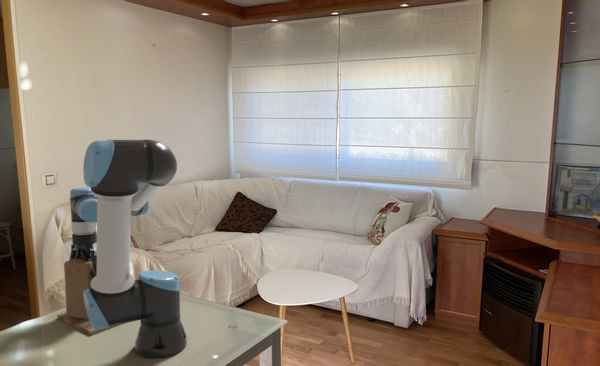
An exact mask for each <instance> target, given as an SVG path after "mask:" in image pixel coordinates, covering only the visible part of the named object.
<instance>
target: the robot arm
mask: <svg viewBox="0 0 600 366" xmlns="http://www.w3.org/2000/svg"><path fill="white" fill-rule="evenodd" d="M84 154H85V155H84V158H83V168H82V169H83V181H84V184H85V185H86V187H73V188H72V189H70V191H69V202H70V215H71V216H70V217H71V221H70V222H71V223H70V224H71V233H72V235H71V240H72V241H71V242H72V244H71V245H70V247H71V248H70V249H71V250H70V255H69V260H72V259H74V258H76V259H77V258H81V259H84V260H85V262H91V261H92V263H93V268H92V276H93V278H92V279H91V288H87V289H86V290H84V293H83V296H84V302H85V307H86V311H87V315H88V318H89V321H90V323H91V325H92V327H93V328H95V329H103V328H110V329H112V328H114V327H113V326H115V327H117V325H118V326H120V325H125V324H129V323H131V322H132V323H133V322H137V321H140V325H139V330H138V332H137V337H136V340H135V343H134V345H135V353H136V354H138V355H139V356H141V357H143V358H149V359H156V358H157V359H159V358H165V357H166V358H167V357H171V356H173V355H176V354H178V353H180V352H182V351H183V350H184V349H185V348H186V346H187V343H188V342H187V341H188V340H187V339H188V337H187V334H186V331H185V328H184V325H183V324H182V321H181V320H182V319H181V287H180V279H179V276H178V275H177V274H175V273H173V272H171V271H166V270H159V269H157V270H156V269H155V270H153V269H152V270H146V271H143V272H142V271H141V272H140V273H139V274H138V275H139V276H138V277H137V278H138V279H135V277H134V276H133V275H132V274H131V272H130V269H131V267H130V266H131V237H132V217H139V216H143V215H146V214H147V213H148V212H149V208H150V207H149V206H150V205H149V204H150V203H149V201H150V199H151V198H152V197H153V196H154V195H155V194H156V193H157V192H158V191H159V189H160V188H161V187H164V186H166V185H168V184H169V183H170V182H171V181H172V180H173V179H174V177H175V176H176V173H177V170H178V163H177V160H176V156H175V155H174V153H173V151H172V150H171V148H169V147H168V146H167V145H165V144H164V143H162V142H160V141H157V140H153V139H106V140H104V139H103V140H95V141H92V142H91V143H90V144H89V145H88V147H87V148H86V150H85V153H84ZM94 244H96V248H94ZM111 327H112V328H111Z"/></svg>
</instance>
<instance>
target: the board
mask: <svg viewBox="0 0 600 366" xmlns="http://www.w3.org/2000/svg"><path fill="white" fill-rule="evenodd" d="M56 319H58V320H60V321H62V322H64V323H66V324H68V325H70V326H71V327H74V328H76V329H77V330H79V331H82V332H83V333H85V334H87V335H89V336H93V335H96V334H99V333H102V332H105V331H106V330H109V329H112V328H115V327H117V326H119V325H117V326H113V327H111V328H103V329H95V328H93V327H92V325H91V323H90V321H89V320H85V319H78V318H71V317H68V316H67V311H66V312H63V313H59V314H56Z"/></svg>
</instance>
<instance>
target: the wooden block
mask: <svg viewBox="0 0 600 366" xmlns="http://www.w3.org/2000/svg"><path fill="white" fill-rule="evenodd" d="M63 266H64V268H63V269H64V286H65V288H64V289H65V290H64V291H65V307H66V312H67V316H68V317H71V318H78V319H85V320H89V318H88V315H87V311H86V307H85V302H84V296H83V293H84V290H86V289H87V288H91V279H92V278H93V276H92V268H93V263H92V261H91V262H85V260H84V259H81V258H77V259H76V258H74V259H72V260H70V259H69V260H67V261H65V262H64V263H63Z"/></svg>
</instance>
